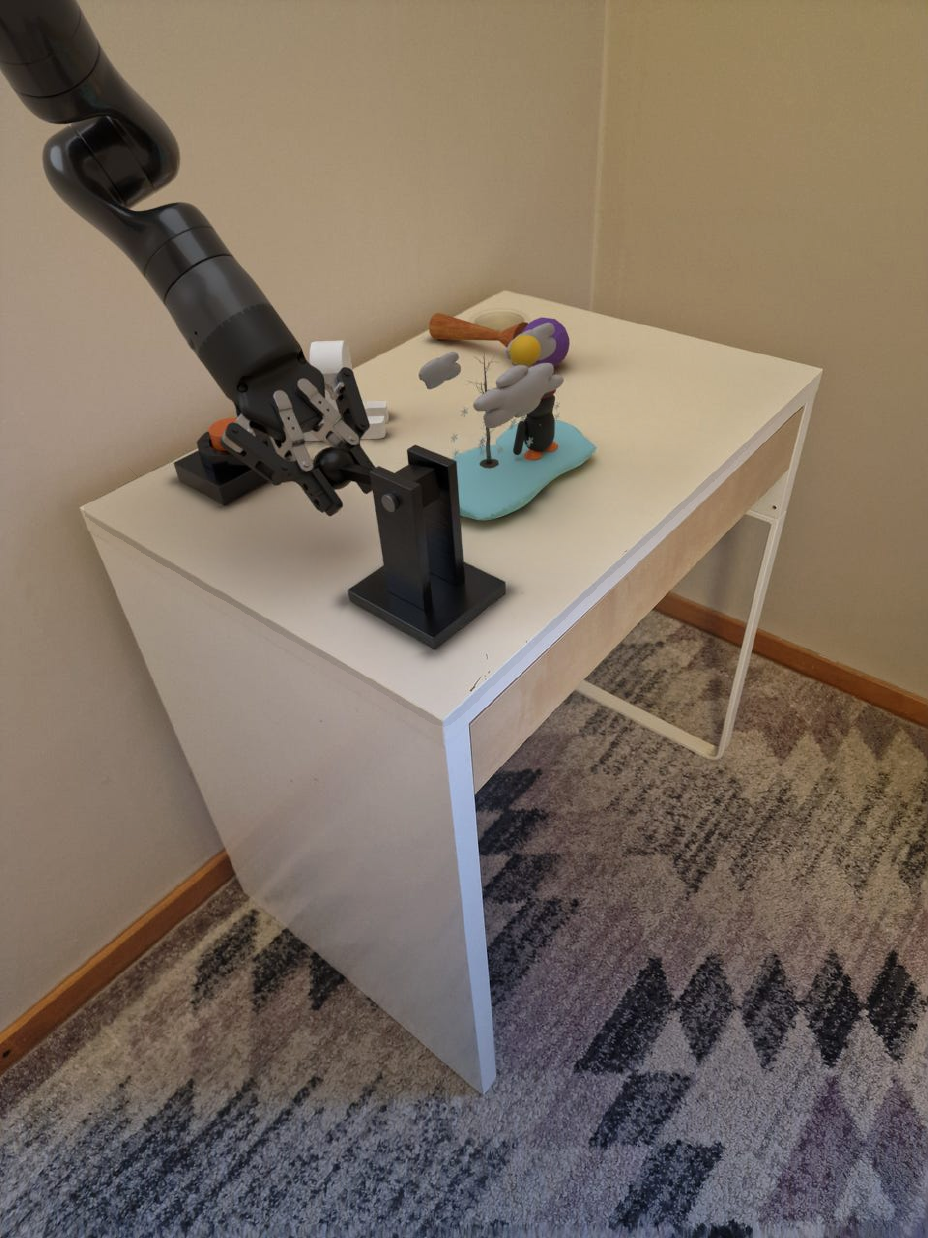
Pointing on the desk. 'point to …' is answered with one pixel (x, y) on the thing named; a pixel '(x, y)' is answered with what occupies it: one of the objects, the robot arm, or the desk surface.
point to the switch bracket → (423, 557)
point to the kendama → (498, 334)
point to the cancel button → (219, 431)
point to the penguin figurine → (514, 430)
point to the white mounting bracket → (332, 361)
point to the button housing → (219, 471)
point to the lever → (343, 471)
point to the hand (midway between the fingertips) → (354, 499)
